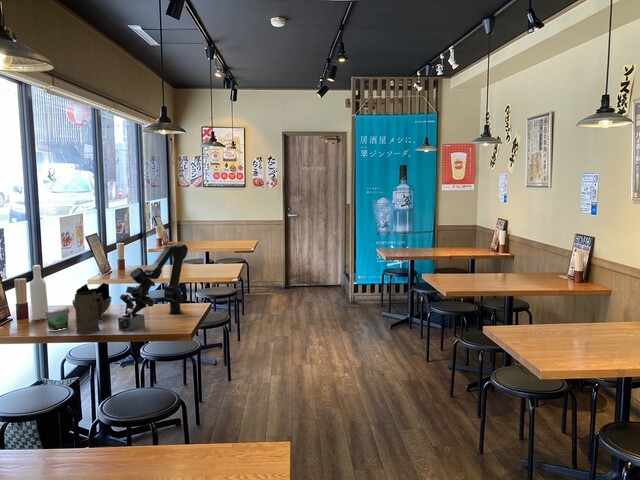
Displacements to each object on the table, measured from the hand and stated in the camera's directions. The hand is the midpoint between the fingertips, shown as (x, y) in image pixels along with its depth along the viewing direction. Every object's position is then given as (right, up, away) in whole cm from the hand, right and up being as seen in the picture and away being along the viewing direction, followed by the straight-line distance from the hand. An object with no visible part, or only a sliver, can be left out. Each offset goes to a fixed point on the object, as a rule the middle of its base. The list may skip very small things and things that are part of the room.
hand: (129, 314), depth 264 cm
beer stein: (-19, -8, +1) cm, 21 cm away
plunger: (+1, -7, +2) cm, 7 cm away
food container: (-36, -8, +3) cm, 37 cm away
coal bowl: (-30, -5, +27) cm, 41 cm away
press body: (0, -8, +1) cm, 8 cm away
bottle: (-58, -6, +24) cm, 63 cm away
